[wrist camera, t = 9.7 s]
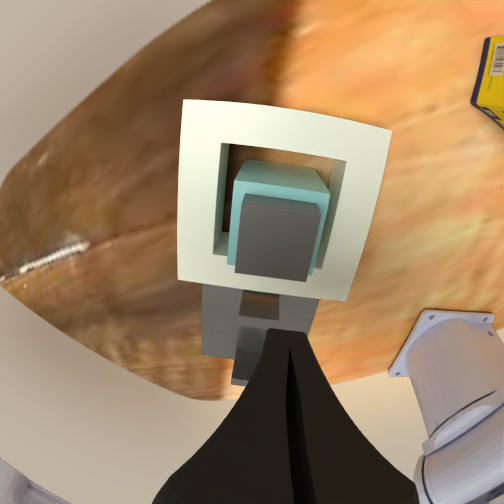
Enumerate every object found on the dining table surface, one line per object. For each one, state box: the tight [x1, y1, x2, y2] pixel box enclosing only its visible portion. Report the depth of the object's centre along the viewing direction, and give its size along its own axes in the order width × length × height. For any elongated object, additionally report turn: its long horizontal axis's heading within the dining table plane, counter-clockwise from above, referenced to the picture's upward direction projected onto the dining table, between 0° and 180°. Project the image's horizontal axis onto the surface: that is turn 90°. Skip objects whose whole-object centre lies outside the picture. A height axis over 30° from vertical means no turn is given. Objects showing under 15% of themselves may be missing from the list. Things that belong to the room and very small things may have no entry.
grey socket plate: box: [202, 283, 319, 386], centre depth 20 cm, size 8×8×4 cm
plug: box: [227, 159, 330, 282], centre depth 14 cm, size 4×4×7 cm
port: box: [177, 100, 392, 302], centre depth 16 cm, size 10×10×3 cm
